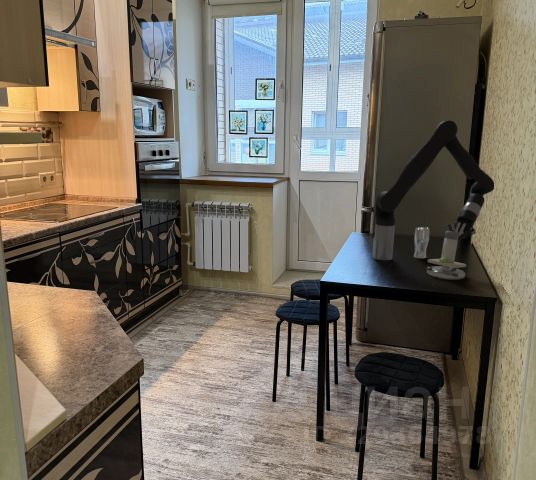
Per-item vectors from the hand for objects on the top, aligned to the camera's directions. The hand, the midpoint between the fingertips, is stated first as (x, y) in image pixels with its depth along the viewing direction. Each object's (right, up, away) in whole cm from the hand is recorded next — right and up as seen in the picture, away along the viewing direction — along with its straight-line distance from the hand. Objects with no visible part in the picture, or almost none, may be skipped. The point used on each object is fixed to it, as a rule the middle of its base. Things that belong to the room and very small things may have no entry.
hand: (453, 244), depth 211 cm
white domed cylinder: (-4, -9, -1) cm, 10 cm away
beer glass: (-6, -7, +29) cm, 31 cm away
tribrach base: (-4, -14, 0) cm, 14 cm away
